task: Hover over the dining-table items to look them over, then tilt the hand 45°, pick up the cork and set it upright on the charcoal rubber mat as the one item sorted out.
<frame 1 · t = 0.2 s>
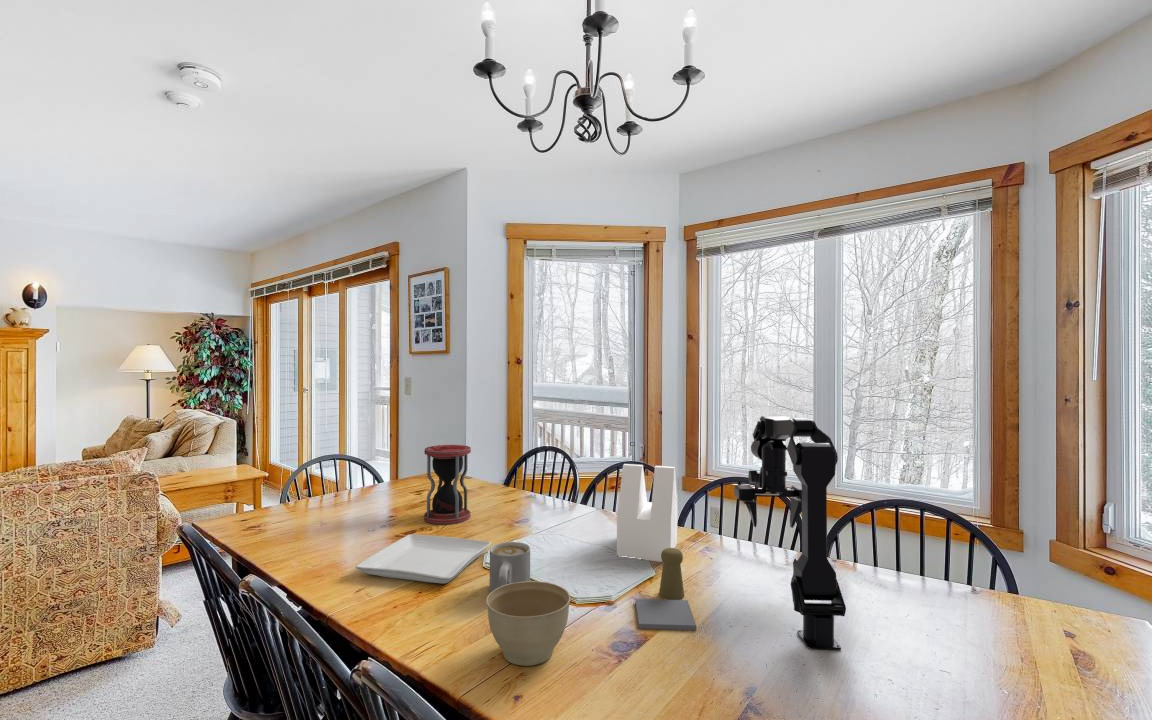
hand: (773, 526, 137), 15 cm above the table, tool pointing down, fingers open, 9 cm apart
planter bowl: (528, 654, 104), on the table
white slotted block: (648, 549, 163), on the table
cork: (671, 595, 131), on the table
hourglass: (447, 518, 192), on the table
square plate: (427, 566, 149), on the table
coffee mug: (507, 592, 132), on the table
charcoal mat: (664, 615, 120), on the table
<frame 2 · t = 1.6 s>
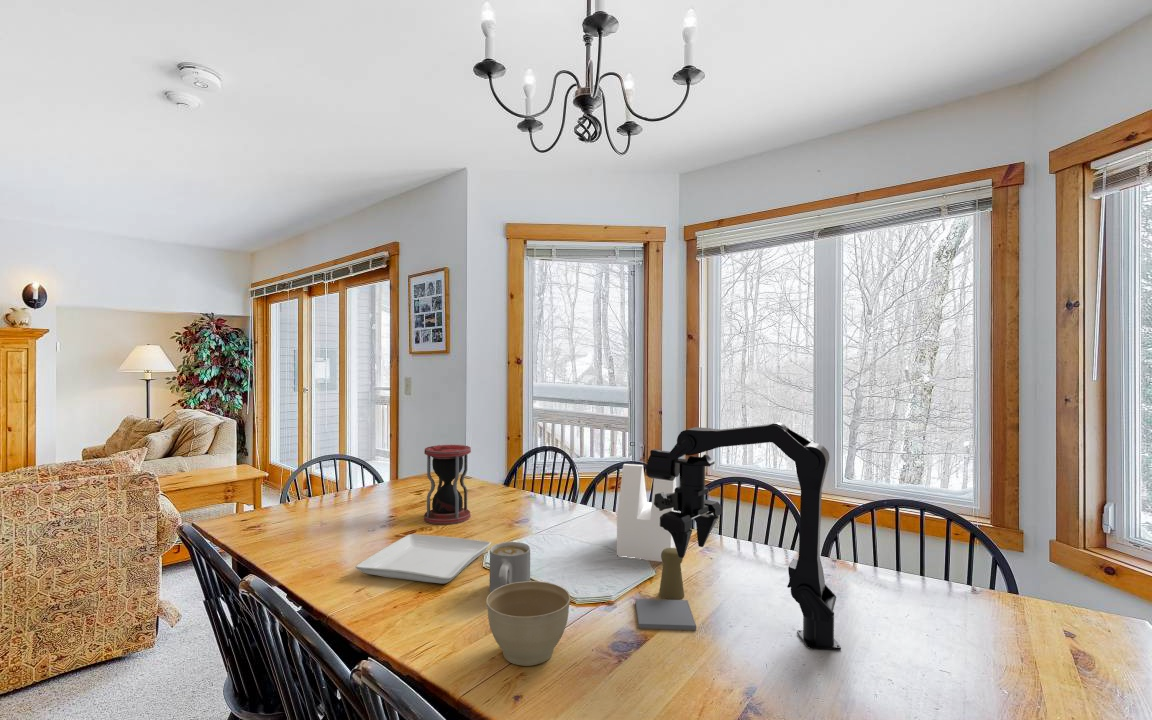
hand: (691, 551, 123), 13 cm above the table, tool pointing down, fingers open, 9 cm apart
nothing on the table moved.
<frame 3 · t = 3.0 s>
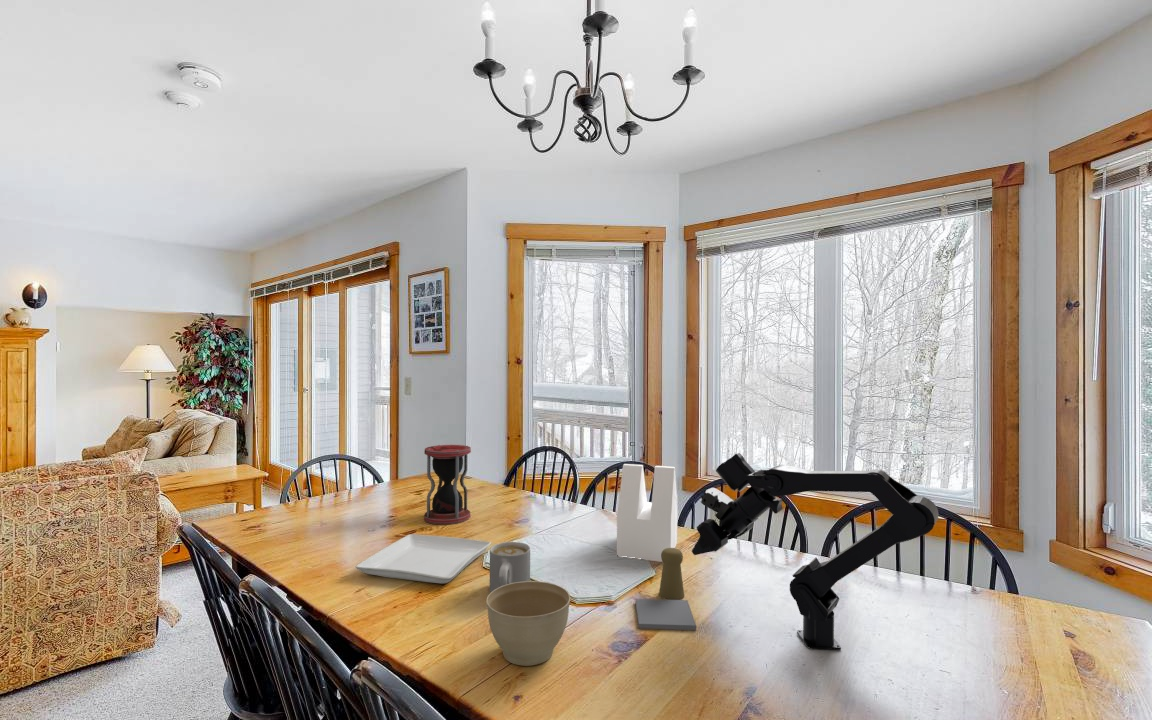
hand: (702, 547, 126), 13 cm above the table, tool tilted 45°, fingers open, 9 cm apart
nothing on the table moved.
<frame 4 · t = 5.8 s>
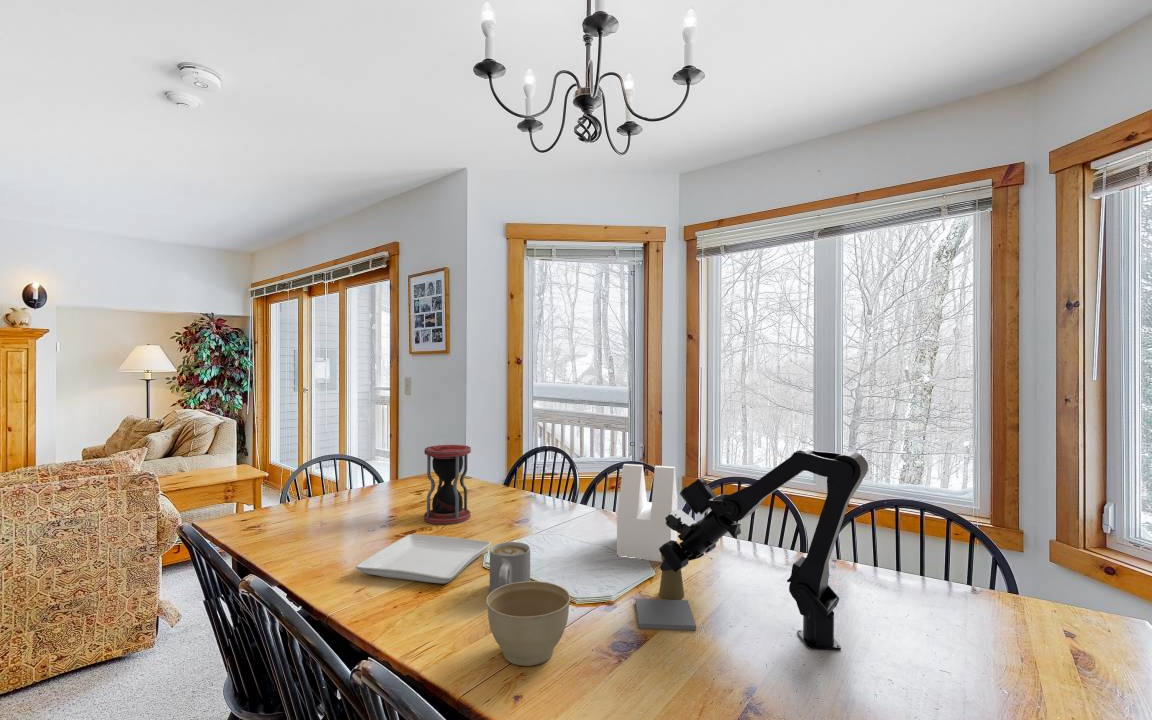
hand: (666, 566, 132), 7 cm above the table, tool tilted 45°, fingers closed on cork, 5 cm apart
cork: (671, 595, 131), on the table, touching gripper
everything else where it was.
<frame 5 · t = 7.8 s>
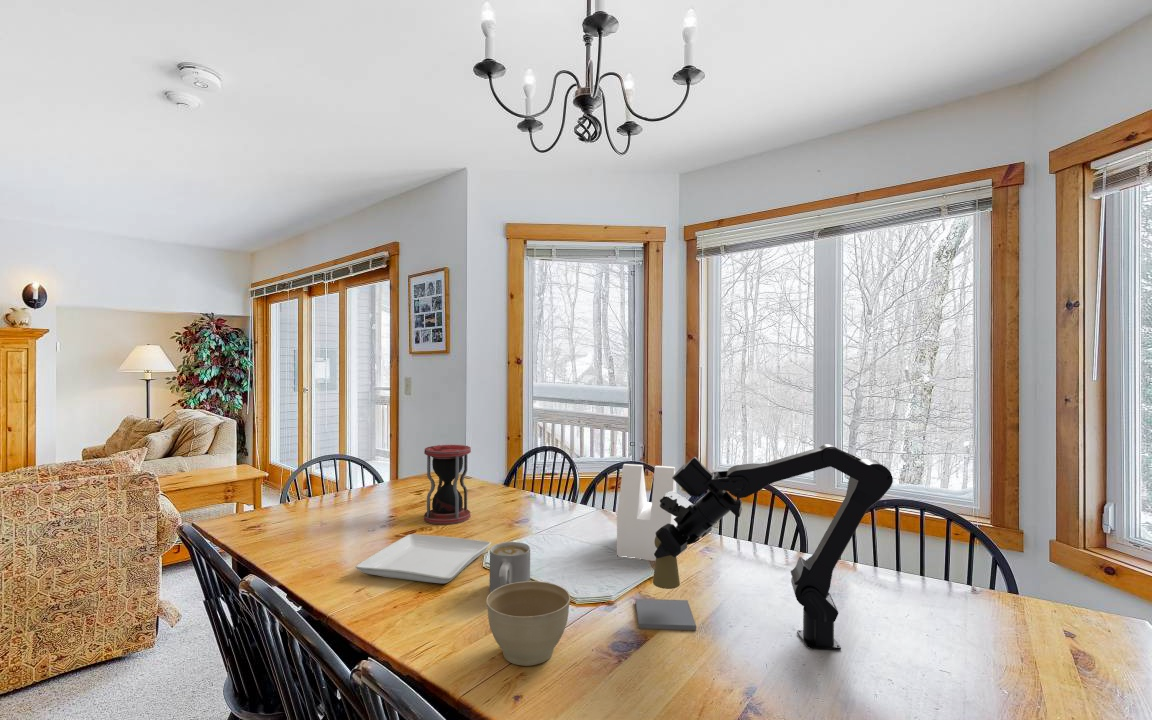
hand: (660, 552, 122), 13 cm above the table, tool tilted 45°, fingers closed on cork, 5 cm apart
cork: (666, 584, 121), point 6 cm above the table, touching gripper
everything else where it was.
when the fingers open (8 cm above the table, at t = 9.9 s): cork stays where it is, resting on charcoal mat.
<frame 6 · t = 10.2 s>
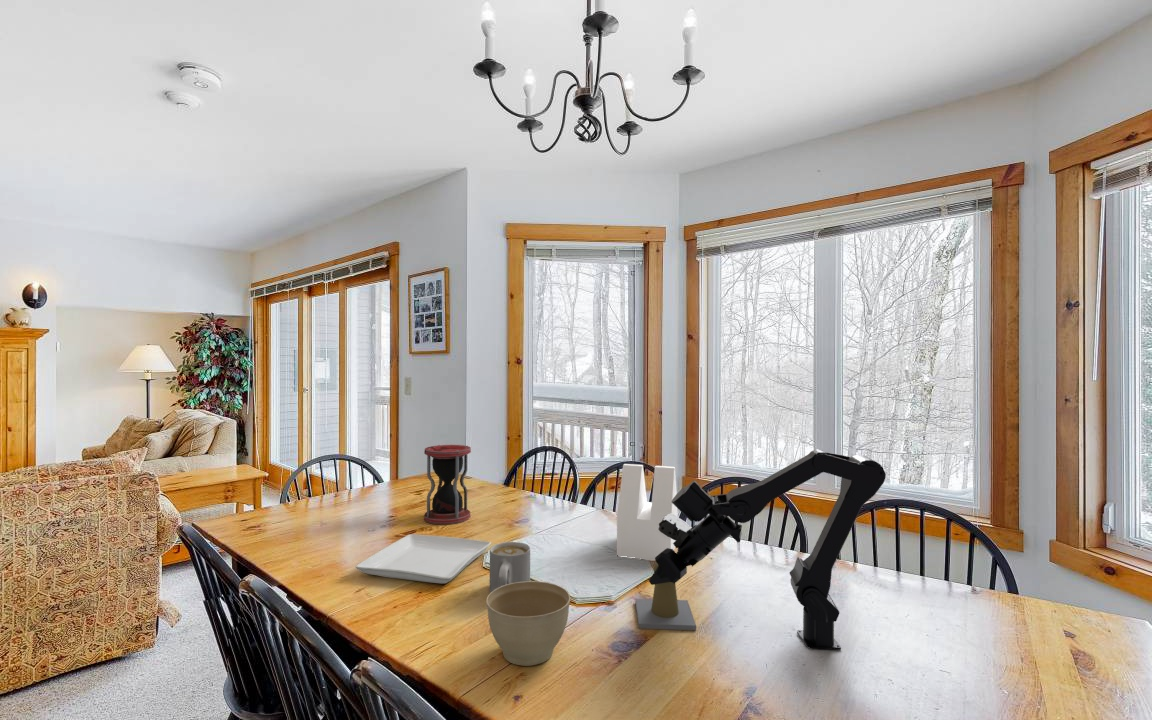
hand: (658, 575, 121), 9 cm above the table, tool tilted 45°, fingers open, 8 cm apart
cork: (664, 612, 120), point 1 cm above the table, touching charcoal mat
everything else where it was.
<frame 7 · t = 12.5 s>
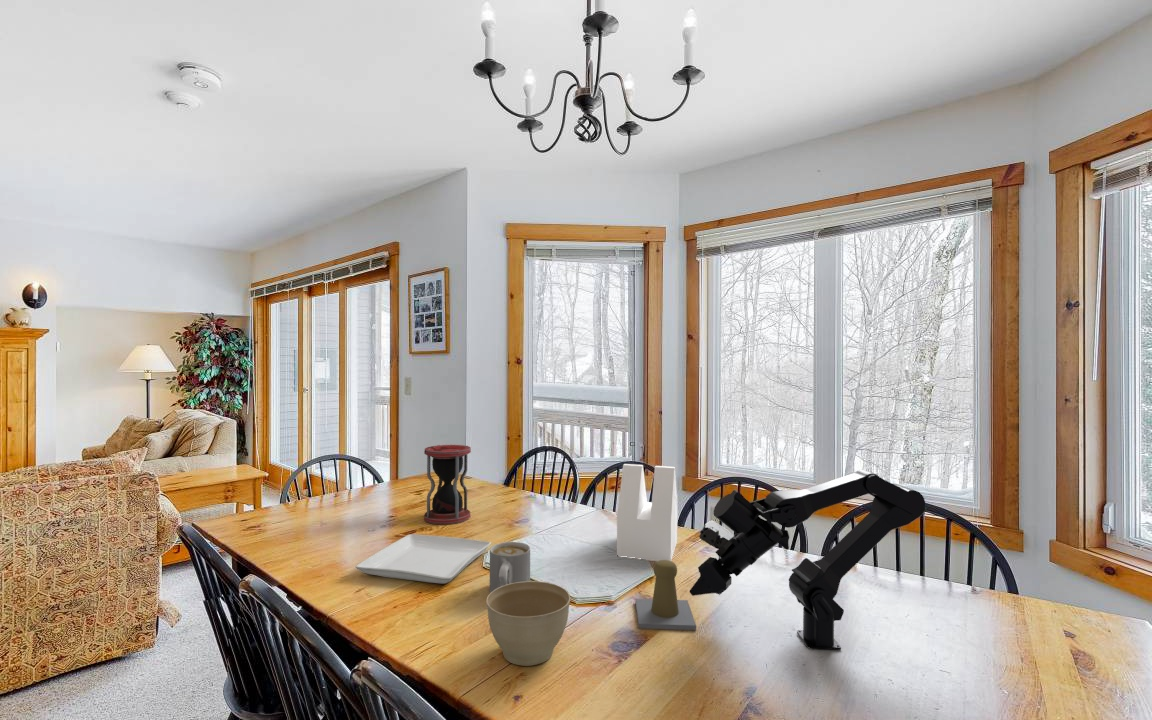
hand: (698, 585, 116), 9 cm above the table, tool tilted 45°, fingers open, 9 cm apart
nothing on the table moved.
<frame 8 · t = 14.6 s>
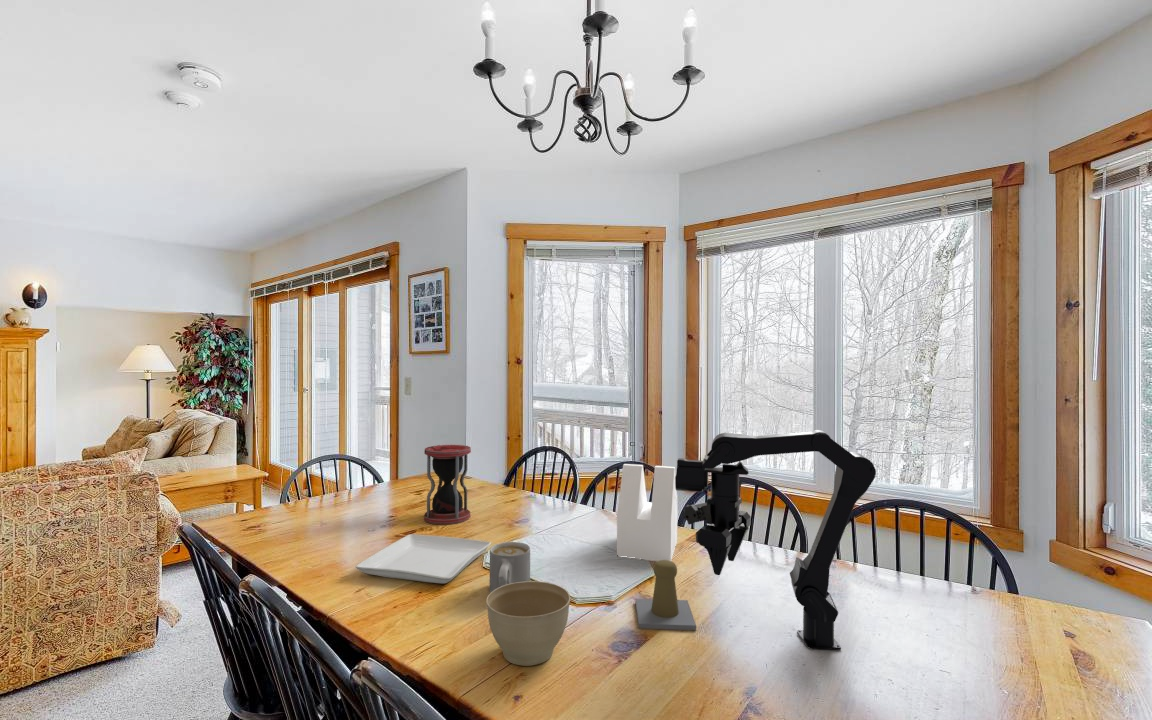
hand: (724, 567, 114), 13 cm above the table, tool pointing down, fingers open, 9 cm apart
nothing on the table moved.
at the end: cork inside the target area on the charcoal mat (0.2 cm from its centre), point 0.8 cm above the charcoal mat's base; cork tilted 0°; the gripper is holding nothing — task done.
